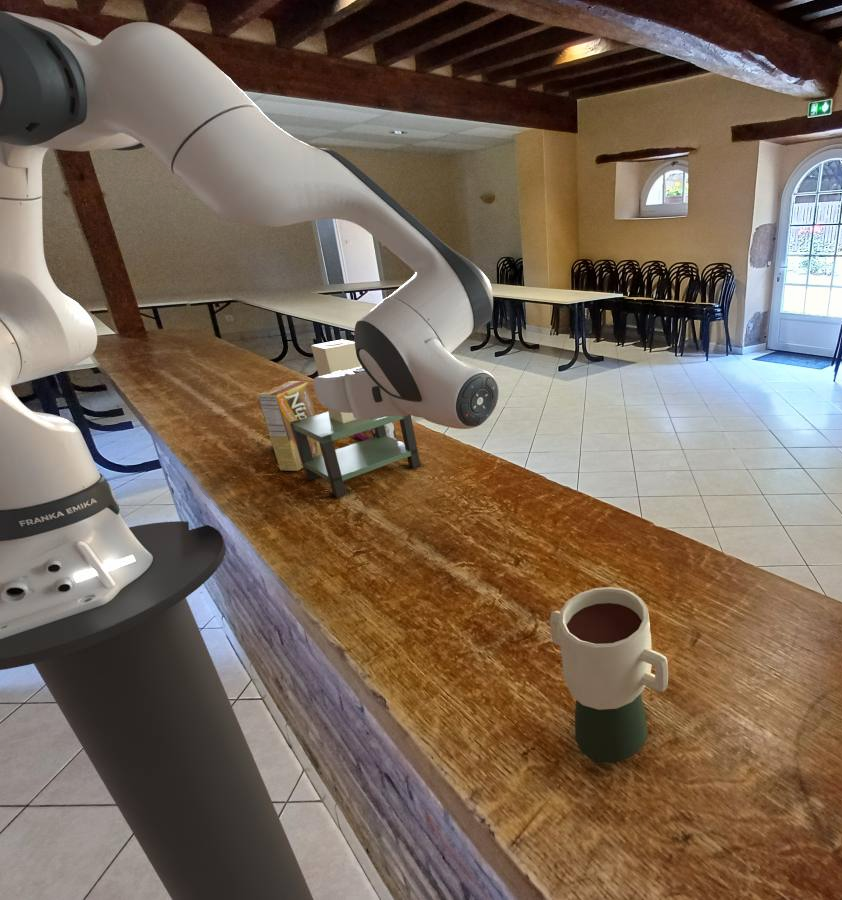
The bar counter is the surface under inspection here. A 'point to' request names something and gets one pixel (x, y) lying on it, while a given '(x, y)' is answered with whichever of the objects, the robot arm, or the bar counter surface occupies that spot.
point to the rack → (351, 447)
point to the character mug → (608, 669)
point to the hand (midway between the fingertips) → (365, 369)
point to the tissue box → (336, 366)
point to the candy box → (288, 421)
